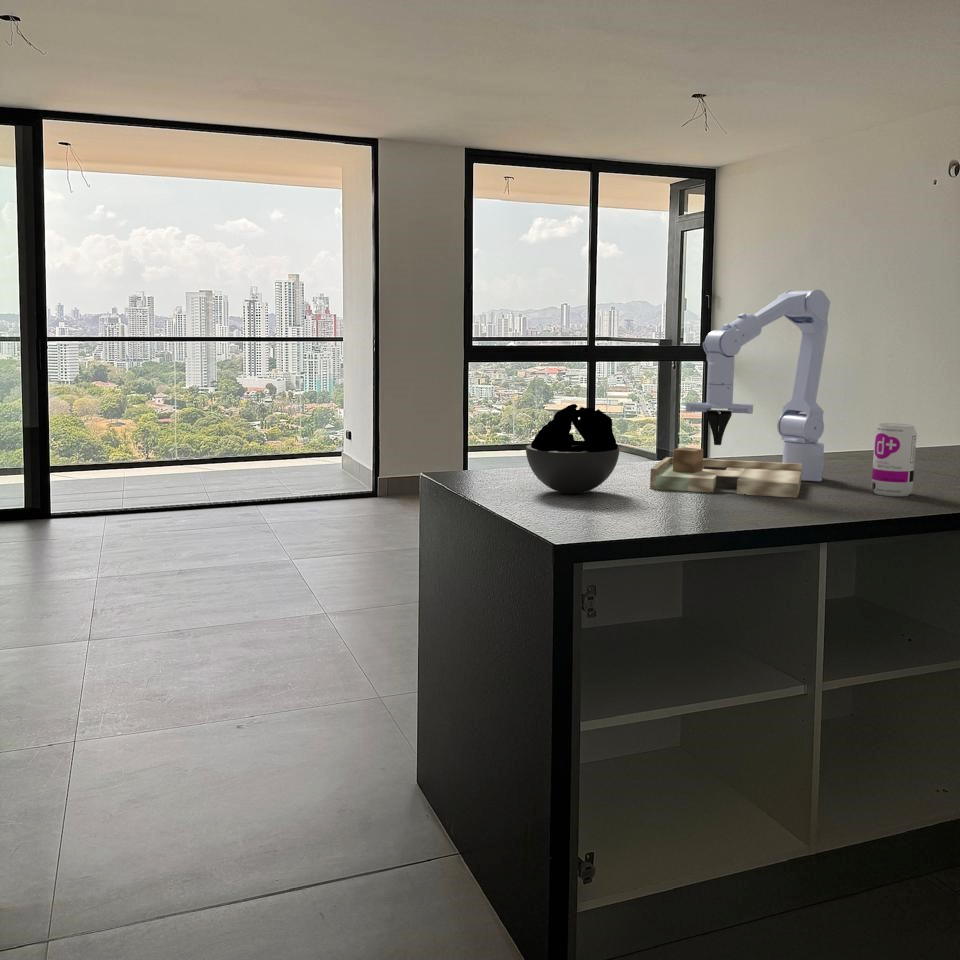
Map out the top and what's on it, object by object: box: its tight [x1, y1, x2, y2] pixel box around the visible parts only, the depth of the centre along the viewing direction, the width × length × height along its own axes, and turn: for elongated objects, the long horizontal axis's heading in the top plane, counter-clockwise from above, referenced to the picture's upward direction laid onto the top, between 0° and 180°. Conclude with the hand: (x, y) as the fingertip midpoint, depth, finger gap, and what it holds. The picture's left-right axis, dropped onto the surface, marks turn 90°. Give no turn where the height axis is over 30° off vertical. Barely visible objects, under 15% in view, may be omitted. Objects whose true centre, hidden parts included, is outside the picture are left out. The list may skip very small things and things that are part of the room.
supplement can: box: [870, 422, 918, 497], centre depth 212 cm, size 8×8×15 cm
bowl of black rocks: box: [525, 403, 621, 495], centre depth 210 cm, size 20×20×19 cm
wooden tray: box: [649, 456, 802, 499], centre depth 222 cm, size 31×21×4 cm
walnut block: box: [672, 446, 704, 473], centre depth 224 cm, size 5×5×5 cm
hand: (717, 444), depth 221 cm, fingers closed
